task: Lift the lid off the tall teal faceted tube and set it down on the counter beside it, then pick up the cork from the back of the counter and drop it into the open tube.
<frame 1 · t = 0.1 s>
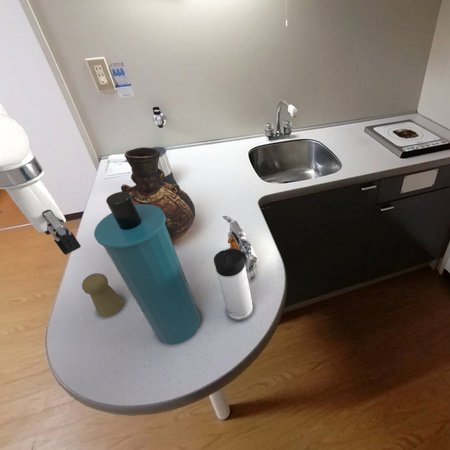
hand: (63, 240, 66), 21 cm above the worktop, tool pointing down, fingers open, 9 cm apart
travel mug: (240, 311, 77), on the worktop
lid: (131, 225, 54), point 31 cm above the worktop, touching teal faceted tube
cork: (111, 307, 78), on the worktop
milk frother: (166, 191, 119), on the worktop
meal: (241, 264, 89), on the worktop
ceramic vessel: (167, 238, 98), on the worktop
teal faceted tube: (178, 324, 74), on the worktop
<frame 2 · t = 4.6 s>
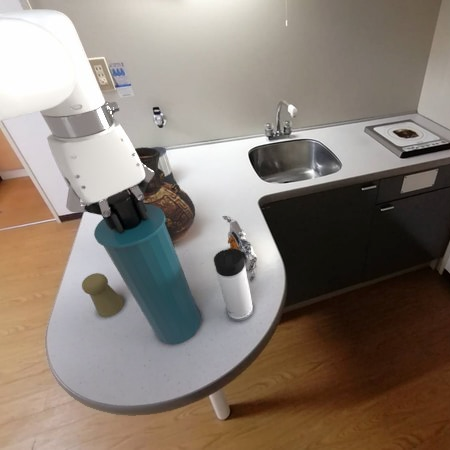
hand: (129, 222, 53), 32 cm above the worktop, tool pointing down, fingers closed on lid, 3 cm apart
lid: (131, 225, 54), point 32 cm above the worktop, touching gripper, teal faceted tube
everything else where it was.
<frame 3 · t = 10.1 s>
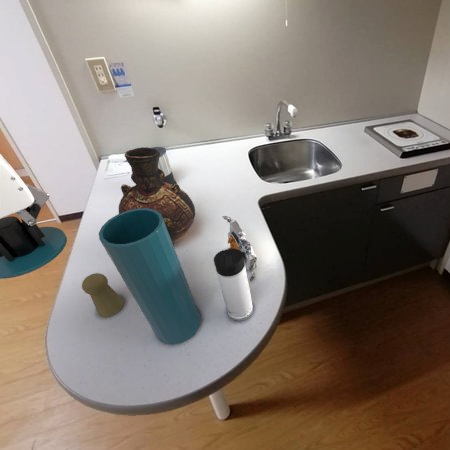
hand: (24, 248, 50), 32 cm above the worktop, tool pointing down, fingers closed on lid, 3 cm apart
lid: (27, 251, 50), point 31 cm above the worktop, touching gripper
everything else where it was.
when the fingers open (1 cm above the worktop, at t = 15.7 s): lid stays where it is, point 1 cm above the worktop.
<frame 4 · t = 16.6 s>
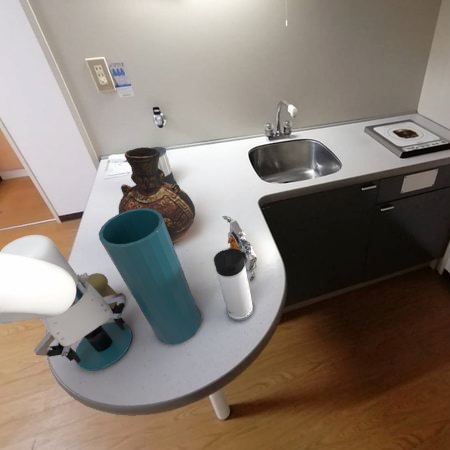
hand: (99, 341, 68), 3 cm above the worktop, tool pointing down, fingers open, 9 cm apart
lid: (104, 345, 70), point 1 cm above the worktop
everything else where it was.
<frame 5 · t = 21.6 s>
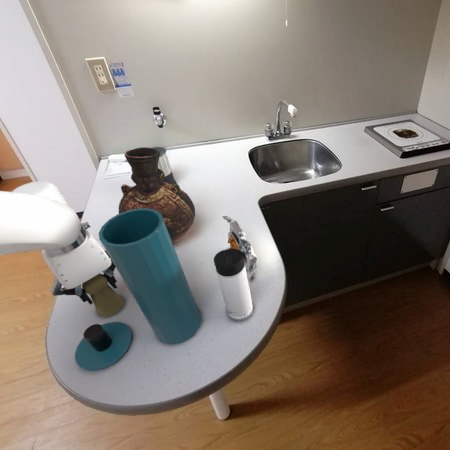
hand: (101, 292, 75), 6 cm above the worktop, tool pointing down, fingers closed on cork, 5 cm apart
cork: (111, 307, 78), on the worktop, touching gripper
everything else where it was.
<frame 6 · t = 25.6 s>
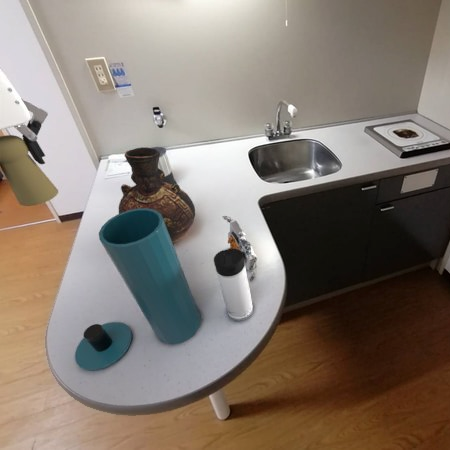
hand: (19, 167, 51), 41 cm above the worktop, tool pointing down, fingers closed on cork, 5 cm apart
cork: (39, 197, 55), point 35 cm above the worktop, touching gripper
everything else where it was.
when the fingers open (35 cm above the worktop, at t = 29.7 s): cork drops 28 cm, resting on teal faceted tube.
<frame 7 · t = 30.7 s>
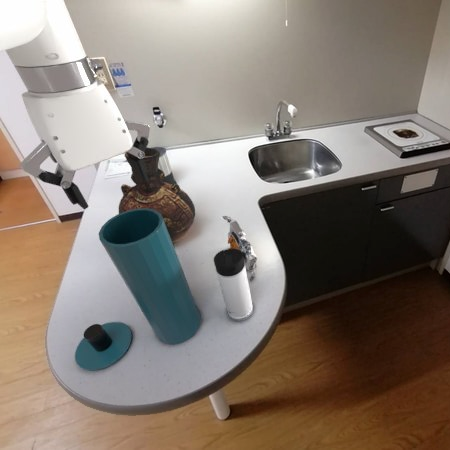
hand: (114, 191, 49), 39 cm above the worktop, tool pointing down, fingers open, 9 cm apart
cork: (178, 324, 74), resting on teal faceted tube
everything else where it was.
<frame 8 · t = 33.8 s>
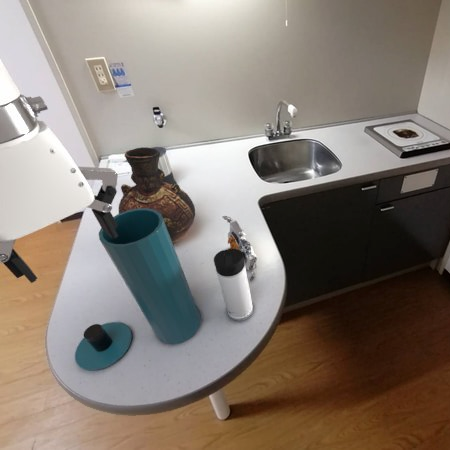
hand: (73, 253, 39), 38 cm above the worktop, tool pointing down, fingers open, 9 cm apart
nothing on the worktop moved.
at the end: lid inside the target area (0.1 cm from its centre), point 0.6 cm above the worktop; cork inside the target area in the teal faceted tube (0.2 cm from its centre), point 0.3 cm above the teal faceted tube's base; the gripper is holding nothing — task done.
